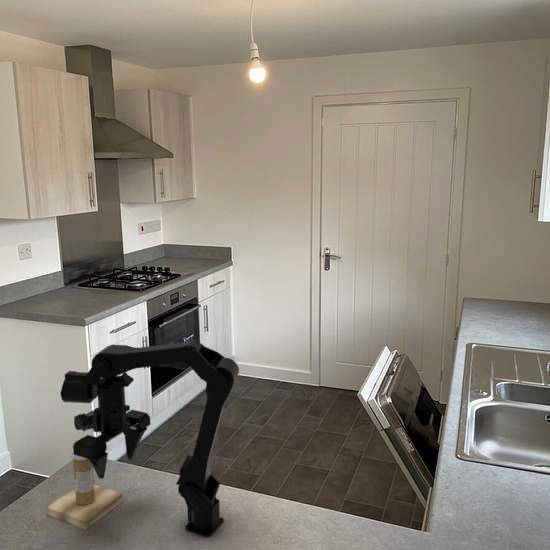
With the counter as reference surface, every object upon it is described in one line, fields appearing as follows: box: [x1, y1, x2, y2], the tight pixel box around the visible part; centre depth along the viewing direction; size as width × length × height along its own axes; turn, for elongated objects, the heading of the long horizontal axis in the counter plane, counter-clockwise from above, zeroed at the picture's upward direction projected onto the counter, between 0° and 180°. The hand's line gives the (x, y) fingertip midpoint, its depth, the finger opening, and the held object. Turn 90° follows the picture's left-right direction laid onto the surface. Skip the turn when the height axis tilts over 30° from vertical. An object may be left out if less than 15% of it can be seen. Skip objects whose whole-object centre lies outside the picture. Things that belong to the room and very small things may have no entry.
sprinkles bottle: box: [71, 448, 95, 505], centre depth 127 cm, size 5×5×13 cm
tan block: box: [46, 483, 124, 530], centre depth 129 cm, size 12×12×2 cm
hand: (116, 468), depth 122 cm, fingers open, 9 cm apart
